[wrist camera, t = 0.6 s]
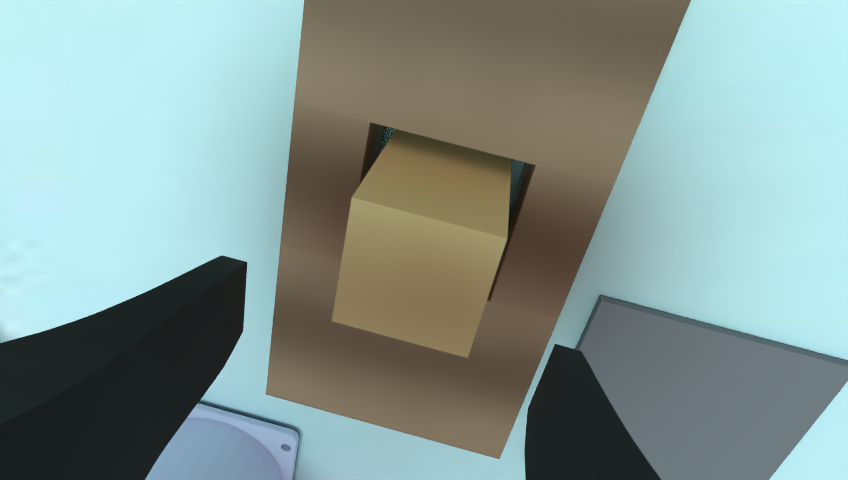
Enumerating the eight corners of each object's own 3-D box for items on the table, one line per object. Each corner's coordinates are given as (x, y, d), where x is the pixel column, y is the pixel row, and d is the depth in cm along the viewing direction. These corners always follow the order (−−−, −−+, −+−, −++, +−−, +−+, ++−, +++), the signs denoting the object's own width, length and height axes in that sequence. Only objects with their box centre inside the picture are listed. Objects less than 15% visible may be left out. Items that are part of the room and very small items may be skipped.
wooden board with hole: (501, 406, 26) (499, 459, 23) (291, 348, 26) (265, 394, 24) (697, -91, 16) (730, -94, 13) (355, -173, 16) (323, -193, 14)
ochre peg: (483, 240, 22) (467, 358, 16) (384, 214, 22) (331, 321, 16) (512, 145, 20) (507, 238, 14) (403, 117, 20) (351, 197, 14)
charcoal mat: (730, 517, 27) (732, 525, 27) (525, 460, 27) (525, 467, 27) (851, 362, 22) (856, 369, 22) (600, 295, 22) (601, 300, 22)
